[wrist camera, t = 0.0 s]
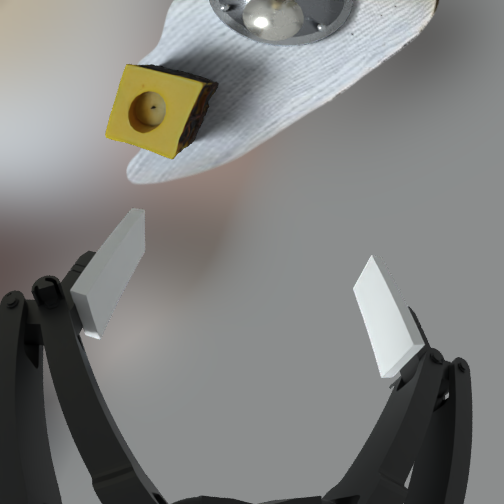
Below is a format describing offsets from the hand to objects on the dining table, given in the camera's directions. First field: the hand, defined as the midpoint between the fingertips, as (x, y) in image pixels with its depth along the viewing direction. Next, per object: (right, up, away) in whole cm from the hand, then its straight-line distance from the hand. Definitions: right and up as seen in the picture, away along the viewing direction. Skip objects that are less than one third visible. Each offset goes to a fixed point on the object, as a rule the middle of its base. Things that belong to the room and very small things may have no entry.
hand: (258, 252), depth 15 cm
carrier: (+4, +36, +8) cm, 37 cm away
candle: (-11, +22, +19) cm, 31 cm away
